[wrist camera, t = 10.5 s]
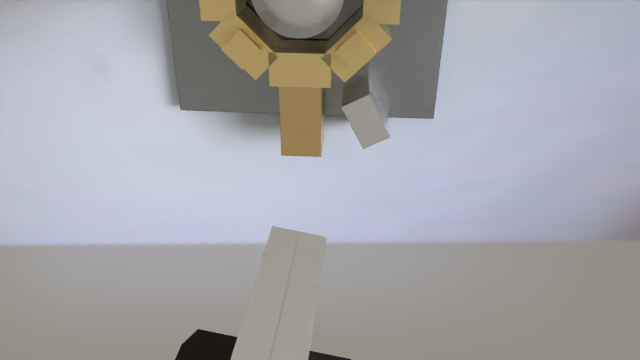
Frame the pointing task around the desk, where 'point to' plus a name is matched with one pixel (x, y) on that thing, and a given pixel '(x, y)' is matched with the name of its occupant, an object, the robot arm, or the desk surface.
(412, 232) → the desk surface
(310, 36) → the grey base plate
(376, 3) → the octagonal block ring
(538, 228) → the desk surface
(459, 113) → the desk surface
